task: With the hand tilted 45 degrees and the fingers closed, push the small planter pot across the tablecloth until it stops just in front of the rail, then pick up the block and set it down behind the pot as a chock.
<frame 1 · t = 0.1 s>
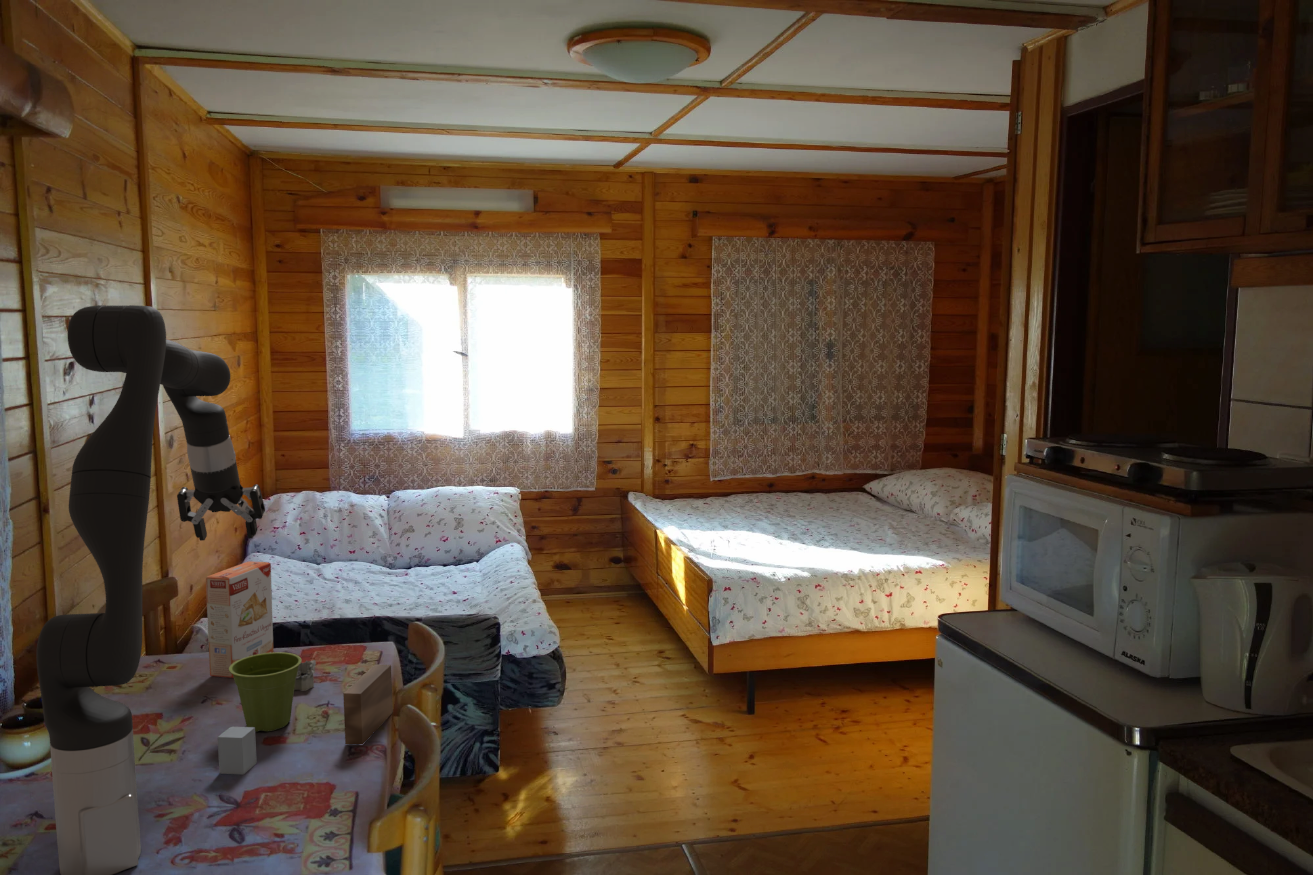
hand: (227, 537, 176), 31 cm above the table, tool tilted 20°, fingers open, 8 cm apart
plant pot: (268, 725, 168), on the table
cracker box: (243, 667, 197), on the table
chock block: (238, 768, 151), on the table
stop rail: (370, 727, 166), on the table
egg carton: (296, 684, 188), on the table
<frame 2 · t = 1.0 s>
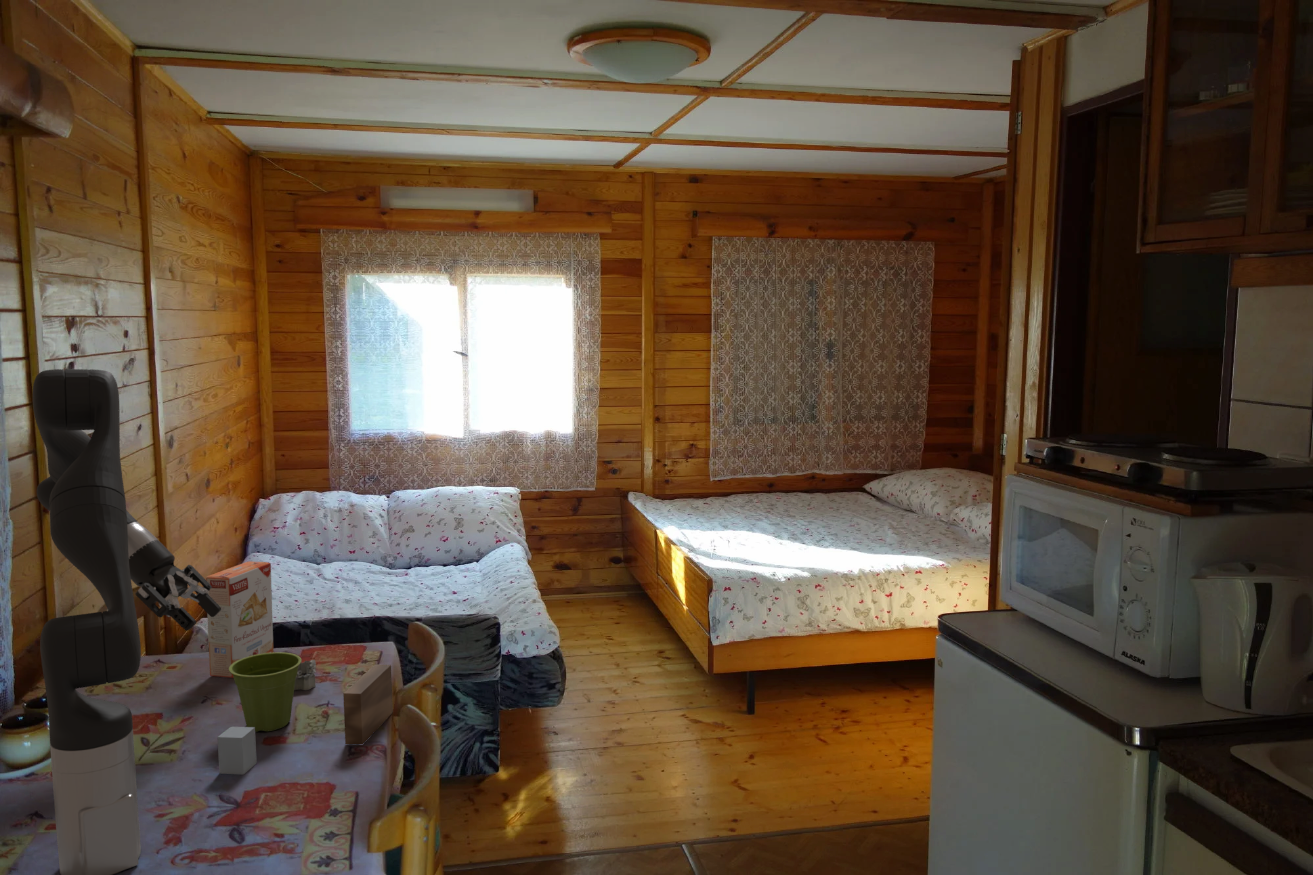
hand: (204, 619, 167), 19 cm above the table, tool tilted 45°, fingers open, 7 cm apart
nothing on the table moved.
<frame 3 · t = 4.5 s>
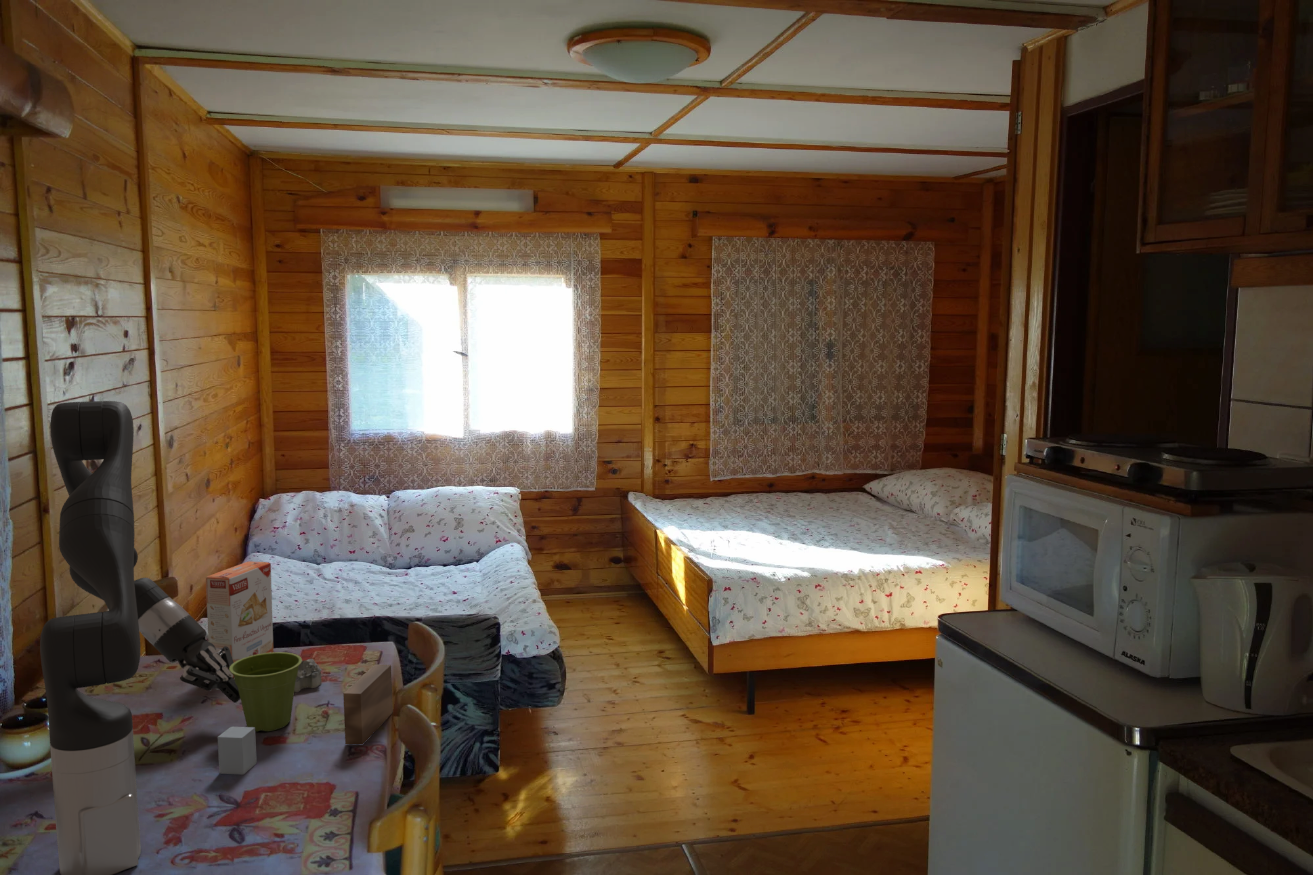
hand: (240, 698, 168), 5 cm above the table, tool tilted 45°, fingers closed
plant pot: (269, 725, 168), on the table, touching gripper
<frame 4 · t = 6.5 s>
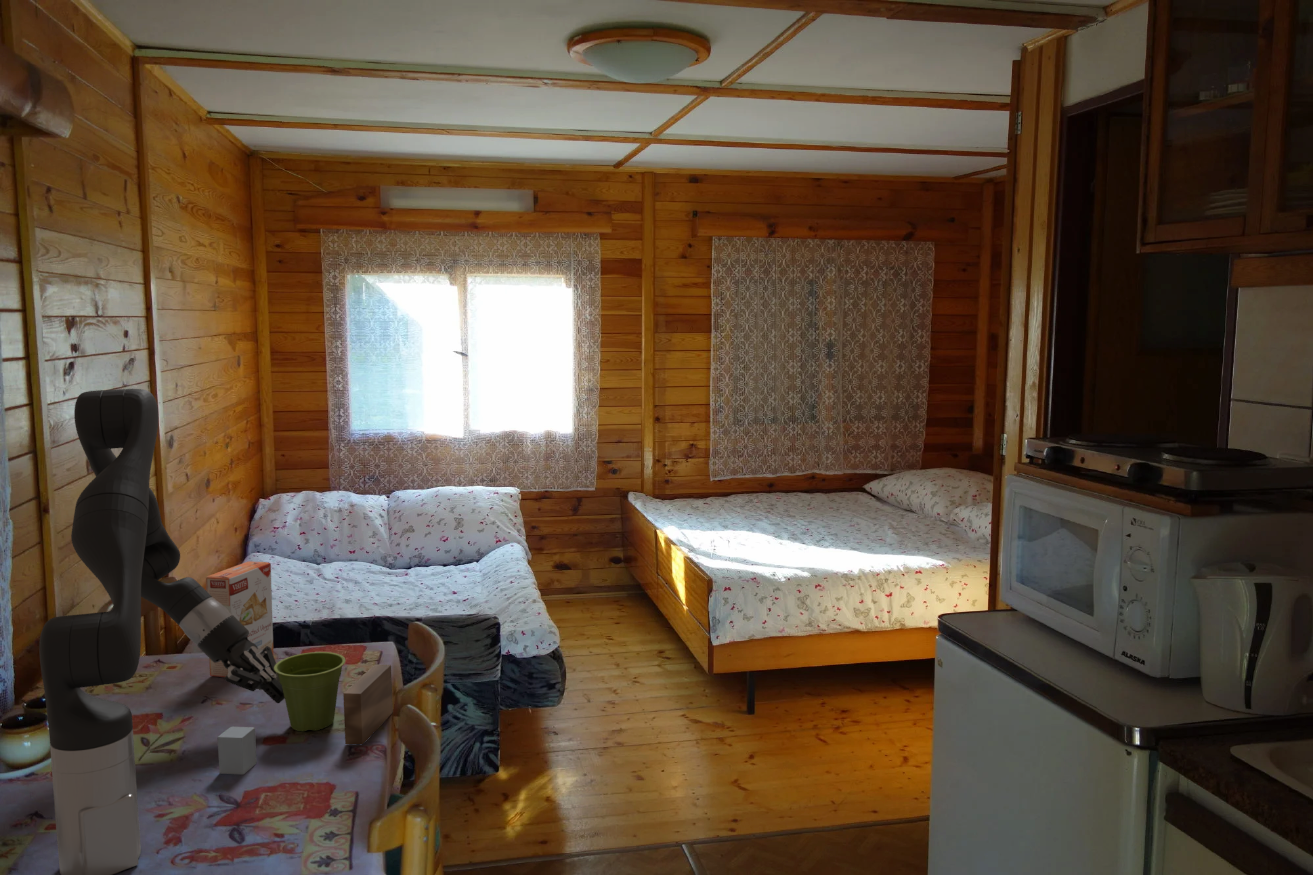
hand: (283, 698, 167), 5 cm above the table, tool tilted 45°, fingers closed
plant pot: (312, 725, 168), on the table, touching gripper
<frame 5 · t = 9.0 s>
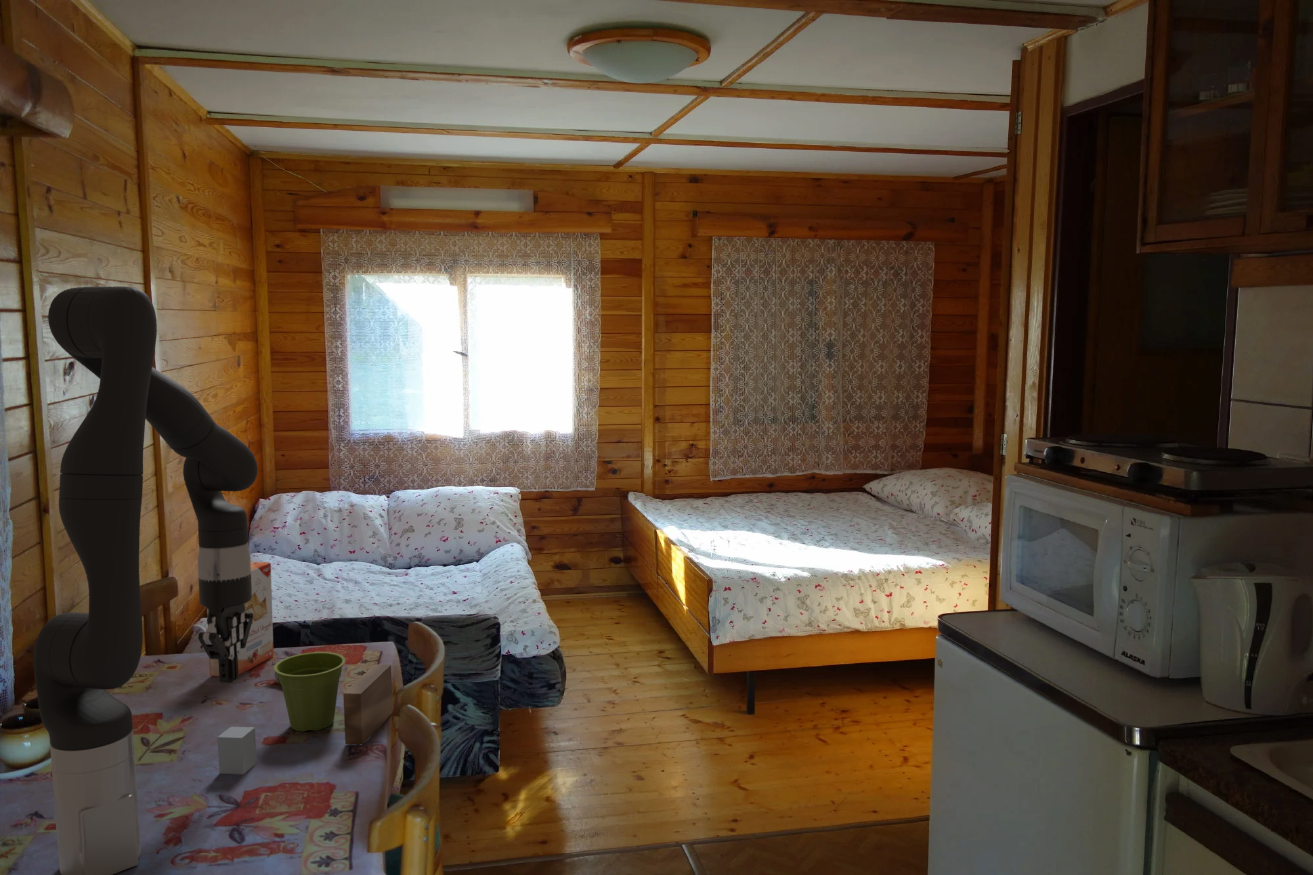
hand: (229, 680, 149), 14 cm above the table, tool pointing down, fingers closed
plant pot: (312, 725, 168), on the table
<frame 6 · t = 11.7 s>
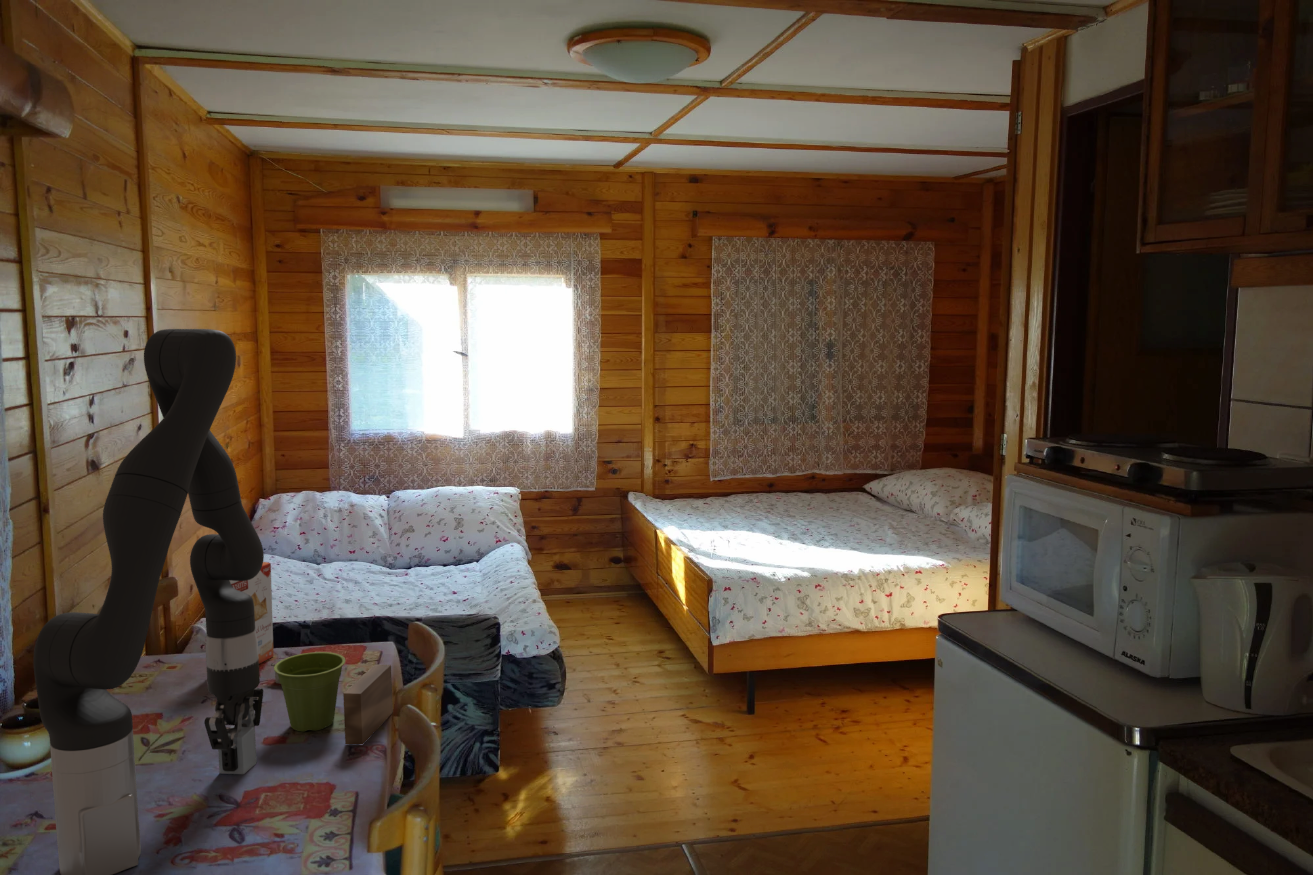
hand: (238, 763, 151), 1 cm above the table, tool pointing down, fingers closed on chock block, 4 cm apart
chock block: (238, 767, 151), on the table, touching gripper
when the fingers open (2 cm above the table, at t = 17.4 s): chock block drops 1 cm, on the table.
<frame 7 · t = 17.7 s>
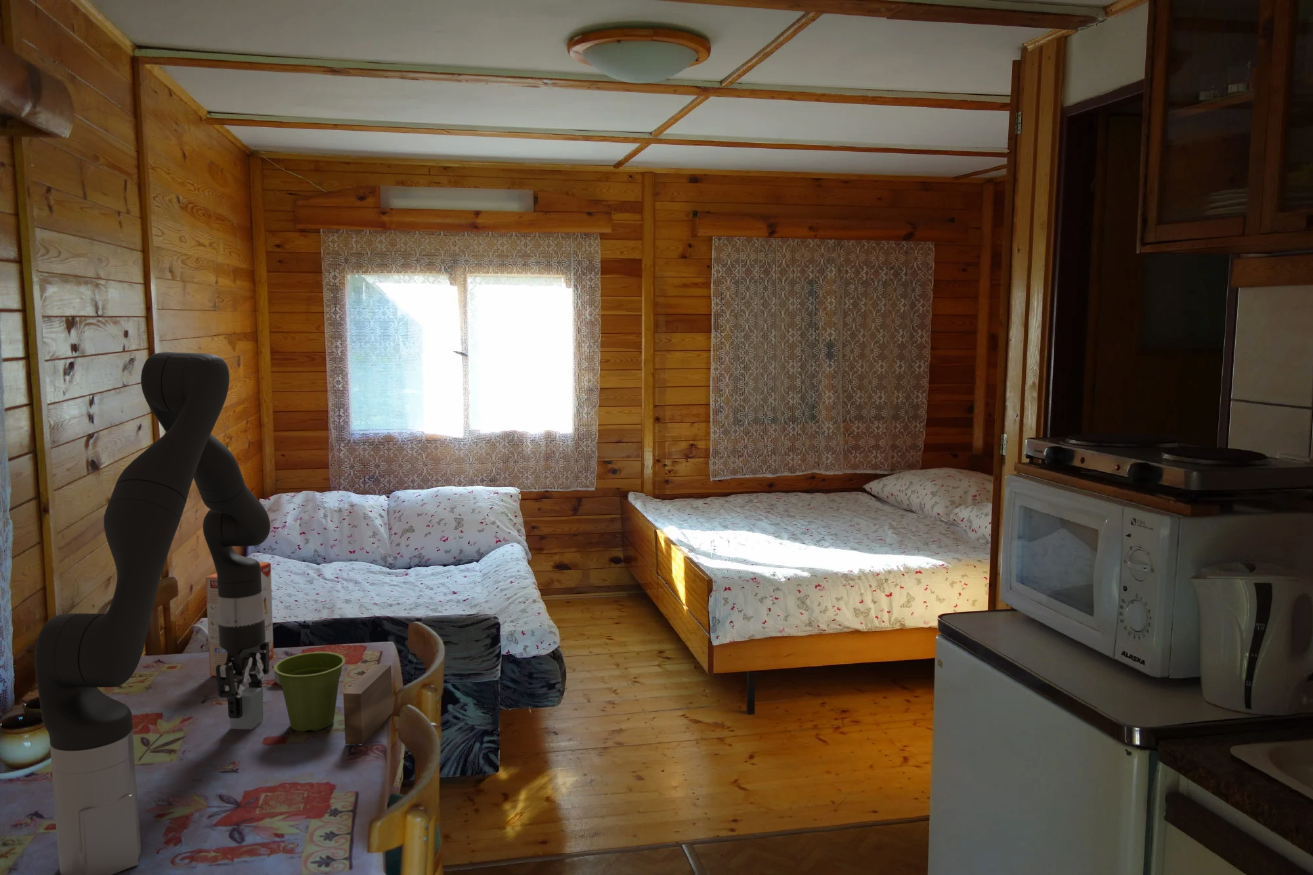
hand: (246, 709, 168), 3 cm above the table, tool pointing down, fingers open, 6 cm apart
chock block: (247, 724, 168), on the table
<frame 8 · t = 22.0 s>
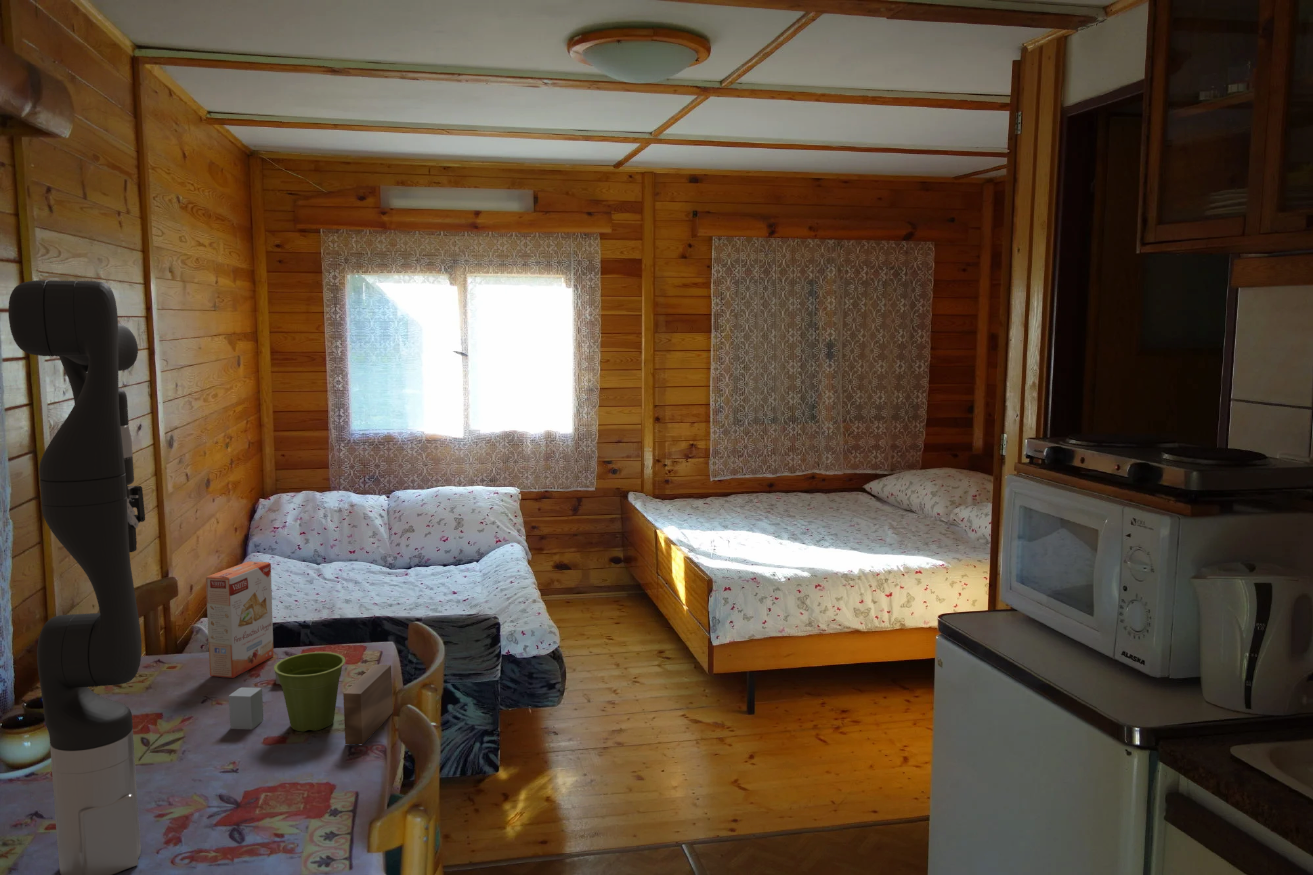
hand: (111, 557, 148), 34 cm above the table, tool pointing down, fingers open, 8 cm apart
at the end: plant pot 10.8 cm from the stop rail (horizontally); plant pot tilted 0°; chock block inside the target area on the table beside the plant pot (1.3 cm from its centre), on the table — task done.
